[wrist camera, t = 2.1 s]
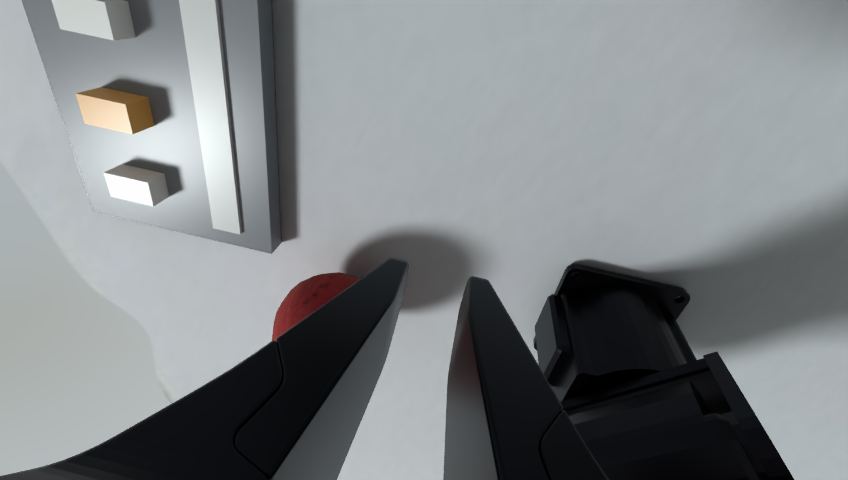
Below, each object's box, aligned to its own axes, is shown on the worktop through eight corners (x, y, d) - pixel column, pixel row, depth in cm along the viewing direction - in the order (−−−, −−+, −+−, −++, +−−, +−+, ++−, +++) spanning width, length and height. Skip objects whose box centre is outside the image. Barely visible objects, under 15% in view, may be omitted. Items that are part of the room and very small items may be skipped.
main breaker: (148, 97, 19) (125, 104, 18) (154, 125, 20) (132, 134, 19) (101, 87, 19) (75, 93, 18) (108, 115, 20) (84, 123, 19)
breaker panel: (264, -171, 14) (226, -197, 12) (281, 242, 24) (261, 265, 22) (-21, -224, 15) (-103, -257, 13) (109, 202, 25) (74, 222, 23)
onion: (336, 227, 23) (269, 326, 16) (415, 284, 24) (383, 397, 18) (291, 284, 26) (219, 388, 19) (363, 332, 27) (319, 445, 20)
